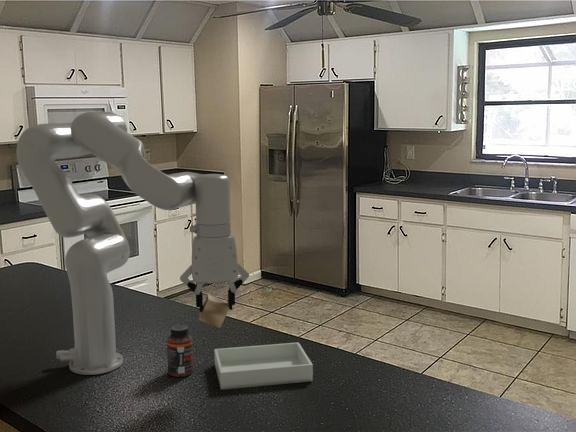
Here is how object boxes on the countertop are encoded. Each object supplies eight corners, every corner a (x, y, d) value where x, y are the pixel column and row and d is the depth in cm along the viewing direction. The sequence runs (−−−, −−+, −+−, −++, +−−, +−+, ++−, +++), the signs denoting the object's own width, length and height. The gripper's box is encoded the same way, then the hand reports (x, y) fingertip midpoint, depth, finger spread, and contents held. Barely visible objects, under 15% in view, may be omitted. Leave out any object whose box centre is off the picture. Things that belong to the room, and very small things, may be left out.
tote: (220, 389, 138) (220, 372, 138) (214, 364, 152) (214, 349, 151) (312, 381, 143) (312, 364, 142) (298, 357, 156) (298, 342, 156)
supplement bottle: (188, 379, 144) (186, 332, 142) (163, 377, 145) (162, 330, 143) (196, 368, 149) (195, 324, 148) (173, 366, 151) (172, 322, 149)
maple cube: (199, 320, 136) (208, 299, 136) (199, 313, 141) (207, 294, 141) (220, 328, 137) (229, 308, 137) (219, 321, 142) (228, 302, 142)
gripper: (173, 235, 131) (177, 317, 134) (254, 232, 134) (255, 311, 137) (173, 229, 138) (176, 306, 141) (250, 225, 141) (251, 301, 144)
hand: (215, 308), depth 139 cm, fingers closed on maple cube, 5 cm apart
